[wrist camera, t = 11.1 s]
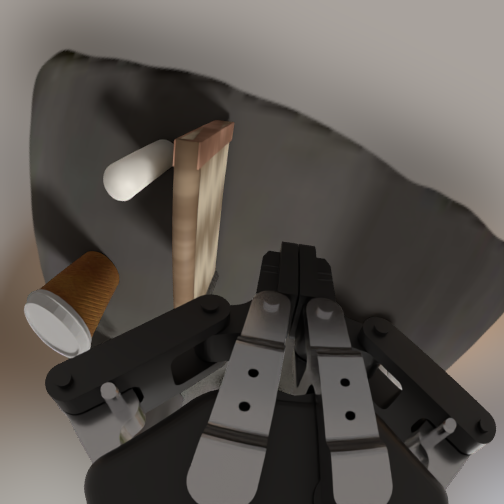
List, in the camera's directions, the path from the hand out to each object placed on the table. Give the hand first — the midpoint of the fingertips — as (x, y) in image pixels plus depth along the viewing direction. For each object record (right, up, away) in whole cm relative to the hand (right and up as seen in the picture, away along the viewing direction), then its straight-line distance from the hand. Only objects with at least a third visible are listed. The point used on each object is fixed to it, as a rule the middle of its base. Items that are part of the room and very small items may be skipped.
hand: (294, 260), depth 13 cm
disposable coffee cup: (-22, -2, +22) cm, 32 cm away
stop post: (-10, +10, +13) cm, 19 cm away
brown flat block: (-5, +5, +14) cm, 16 cm away
